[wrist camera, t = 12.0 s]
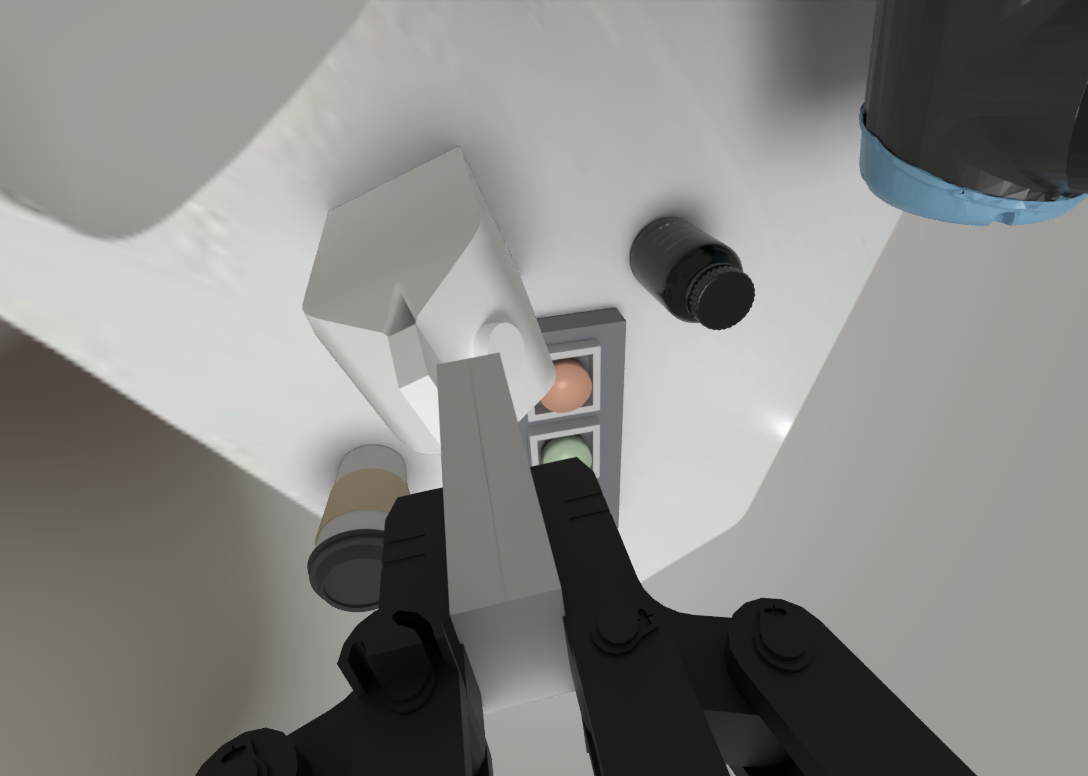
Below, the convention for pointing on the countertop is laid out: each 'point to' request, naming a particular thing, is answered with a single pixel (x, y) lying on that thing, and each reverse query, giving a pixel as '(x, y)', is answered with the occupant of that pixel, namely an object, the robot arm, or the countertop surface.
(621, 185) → the countertop surface
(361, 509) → the coffee cup
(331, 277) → the milk
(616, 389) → the panel
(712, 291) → the supplement bottle
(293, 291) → the countertop surface
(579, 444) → the button sage
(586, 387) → the button terracotta
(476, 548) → the robot arm
